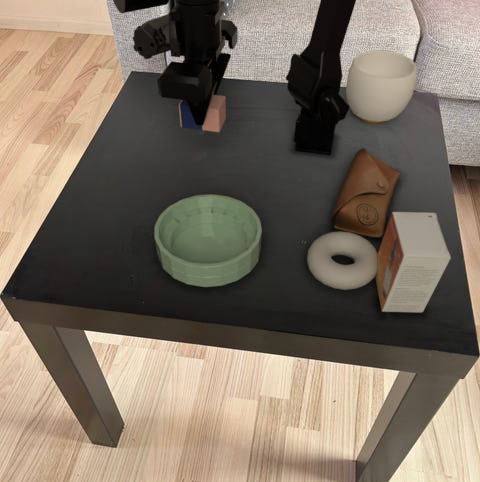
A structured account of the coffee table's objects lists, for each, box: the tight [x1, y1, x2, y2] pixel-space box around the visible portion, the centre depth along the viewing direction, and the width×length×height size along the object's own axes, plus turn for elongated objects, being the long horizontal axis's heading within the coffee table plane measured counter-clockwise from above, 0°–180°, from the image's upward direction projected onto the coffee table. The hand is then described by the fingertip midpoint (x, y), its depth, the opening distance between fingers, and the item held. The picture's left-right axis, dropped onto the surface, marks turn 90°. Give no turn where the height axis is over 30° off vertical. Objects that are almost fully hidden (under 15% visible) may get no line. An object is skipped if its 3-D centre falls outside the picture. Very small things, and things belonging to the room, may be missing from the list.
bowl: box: [154, 193, 263, 288], centre depth 68 cm, size 15×15×4 cm
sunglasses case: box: [330, 147, 402, 239], centre depth 76 cm, size 18×7×7 cm
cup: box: [345, 49, 418, 124], centre depth 89 cm, size 12×12×10 cm
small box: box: [374, 211, 452, 314], centre depth 61 cm, size 8×6×10 cm
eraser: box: [178, 94, 227, 133], centre depth 71 cm, size 6×4×4 cm
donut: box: [306, 230, 378, 291], centre depth 66 cm, size 10×4×10 cm
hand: (203, 116), depth 71 cm, fingers closed on eraser, 4 cm apart
